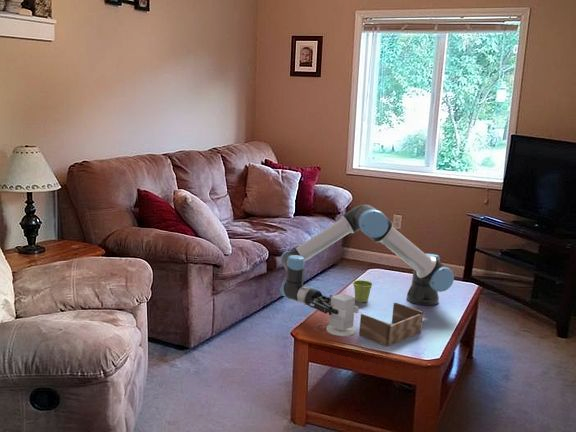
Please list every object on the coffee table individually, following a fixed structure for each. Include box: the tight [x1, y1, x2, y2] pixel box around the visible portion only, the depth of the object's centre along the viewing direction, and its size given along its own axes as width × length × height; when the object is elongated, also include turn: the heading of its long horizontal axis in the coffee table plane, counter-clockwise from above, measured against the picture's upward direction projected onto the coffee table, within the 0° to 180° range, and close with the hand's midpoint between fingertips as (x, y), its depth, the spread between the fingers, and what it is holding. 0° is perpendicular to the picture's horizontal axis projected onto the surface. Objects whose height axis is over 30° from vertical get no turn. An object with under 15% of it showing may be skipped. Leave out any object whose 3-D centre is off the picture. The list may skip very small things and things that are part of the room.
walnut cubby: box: [358, 302, 424, 347], centre depth 250 cm, size 24×14×9 cm, turn 135°
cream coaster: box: [326, 324, 356, 337], centre depth 251 cm, size 12×12×1 cm
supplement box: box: [328, 293, 356, 330], centre depth 250 cm, size 7×7×13 cm
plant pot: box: [352, 279, 374, 303], centre depth 289 cm, size 9×9×9 cm
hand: (351, 312), depth 246 cm, fingers closed on supplement box, 7 cm apart
